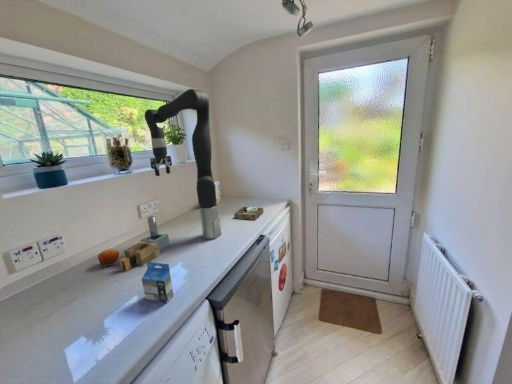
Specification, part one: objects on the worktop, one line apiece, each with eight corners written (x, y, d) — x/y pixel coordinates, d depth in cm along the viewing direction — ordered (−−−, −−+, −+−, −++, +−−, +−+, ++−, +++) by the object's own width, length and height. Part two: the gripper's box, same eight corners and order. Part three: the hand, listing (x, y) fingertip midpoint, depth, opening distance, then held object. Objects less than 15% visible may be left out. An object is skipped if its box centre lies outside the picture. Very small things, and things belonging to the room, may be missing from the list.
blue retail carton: (144, 300, 78) (138, 268, 75) (152, 292, 82) (146, 261, 79) (167, 303, 76) (162, 270, 73) (174, 295, 80) (169, 263, 77)
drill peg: (161, 243, 118) (156, 216, 114) (156, 247, 115) (151, 219, 111) (156, 242, 119) (151, 215, 116) (150, 246, 116) (145, 218, 112)
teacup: (252, 211, 163) (251, 205, 162) (262, 214, 156) (262, 207, 155) (242, 215, 156) (241, 209, 155) (252, 218, 149) (252, 212, 148)
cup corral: (263, 212, 159) (263, 207, 158) (255, 220, 146) (255, 215, 145) (243, 211, 165) (243, 206, 164) (234, 218, 151) (234, 213, 150)
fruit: (97, 269, 96) (95, 251, 98) (101, 270, 103) (99, 252, 105) (119, 264, 100) (116, 246, 102) (121, 265, 107) (119, 248, 109)
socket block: (159, 254, 109) (157, 243, 107) (142, 265, 100) (140, 253, 98) (144, 251, 113) (142, 240, 111) (126, 262, 104) (123, 250, 102)
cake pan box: (212, 208, 175) (210, 186, 171) (206, 208, 176) (204, 186, 172) (221, 201, 193) (219, 181, 189) (215, 201, 194) (213, 181, 190)
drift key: (142, 260, 104) (140, 251, 103) (126, 270, 97) (124, 260, 95) (137, 259, 105) (135, 250, 104) (121, 269, 98) (119, 259, 97)
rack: (169, 243, 120) (168, 234, 118) (156, 252, 112) (154, 241, 110) (156, 241, 123) (154, 232, 122) (142, 249, 115) (140, 239, 114)
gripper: (155, 147, 122) (159, 177, 126) (173, 145, 135) (176, 172, 139) (144, 147, 125) (149, 176, 129) (163, 146, 138) (166, 172, 142)
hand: (163, 174), depth 134 cm, fingers open, 8 cm apart
